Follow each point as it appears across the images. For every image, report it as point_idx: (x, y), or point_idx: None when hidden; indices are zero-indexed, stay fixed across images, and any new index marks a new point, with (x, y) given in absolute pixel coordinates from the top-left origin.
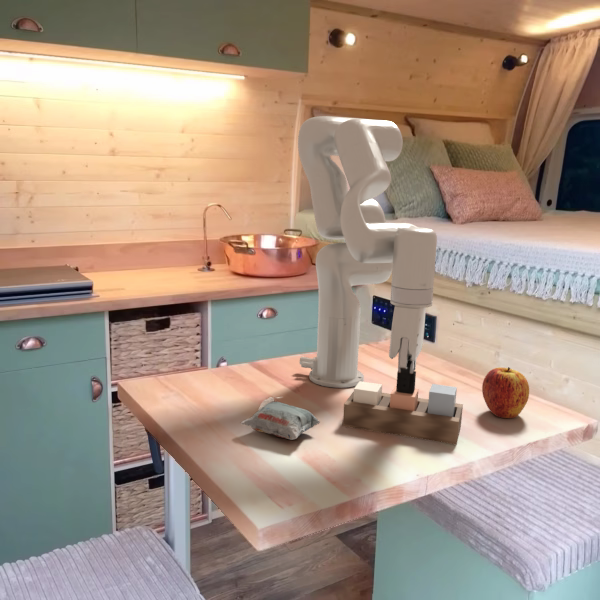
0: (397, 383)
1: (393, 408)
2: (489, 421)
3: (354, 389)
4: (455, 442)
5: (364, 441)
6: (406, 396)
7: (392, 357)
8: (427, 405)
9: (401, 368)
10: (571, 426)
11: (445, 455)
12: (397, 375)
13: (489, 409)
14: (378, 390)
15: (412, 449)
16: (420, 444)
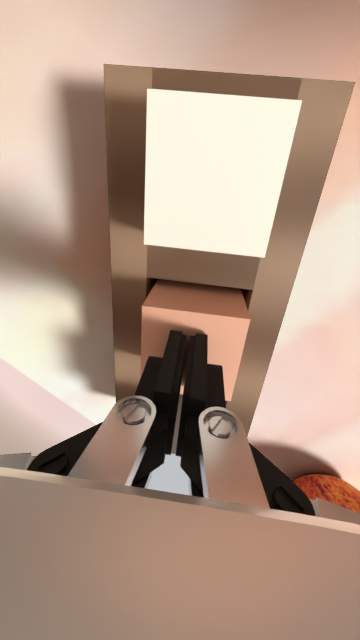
0: (164, 351)
1: (139, 299)
2: (274, 460)
3: (148, 94)
4: None
5: (61, 204)
6: (141, 361)
7: (10, 470)
8: None
9: (68, 444)
10: None
11: (81, 381)
12: (159, 375)
13: (315, 477)
14: (172, 246)
15: (76, 324)
16: (109, 340)
